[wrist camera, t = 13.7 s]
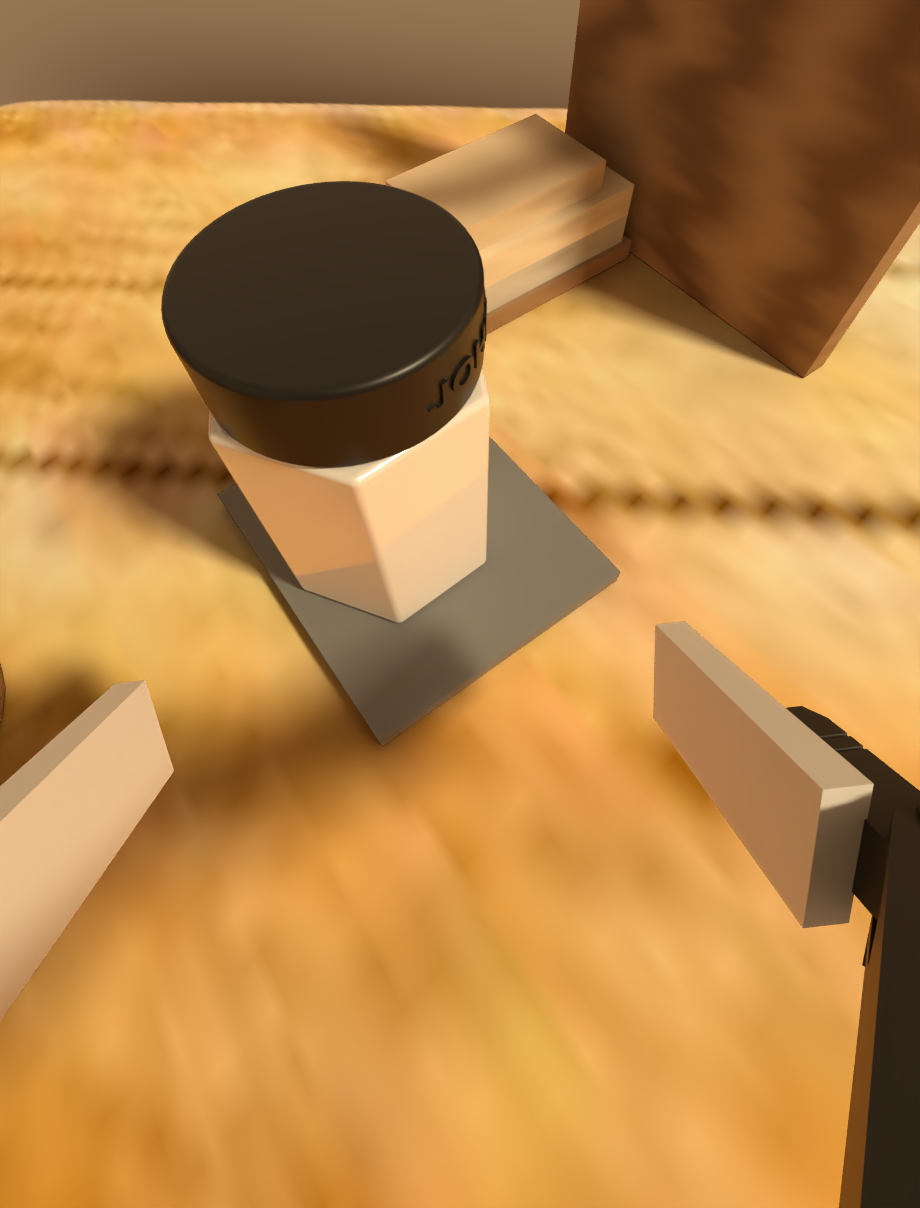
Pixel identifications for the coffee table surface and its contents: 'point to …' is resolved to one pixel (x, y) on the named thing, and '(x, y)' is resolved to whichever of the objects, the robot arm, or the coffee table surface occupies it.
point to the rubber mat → (448, 604)
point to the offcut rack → (709, 164)
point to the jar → (345, 383)
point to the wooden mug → (1, 693)
